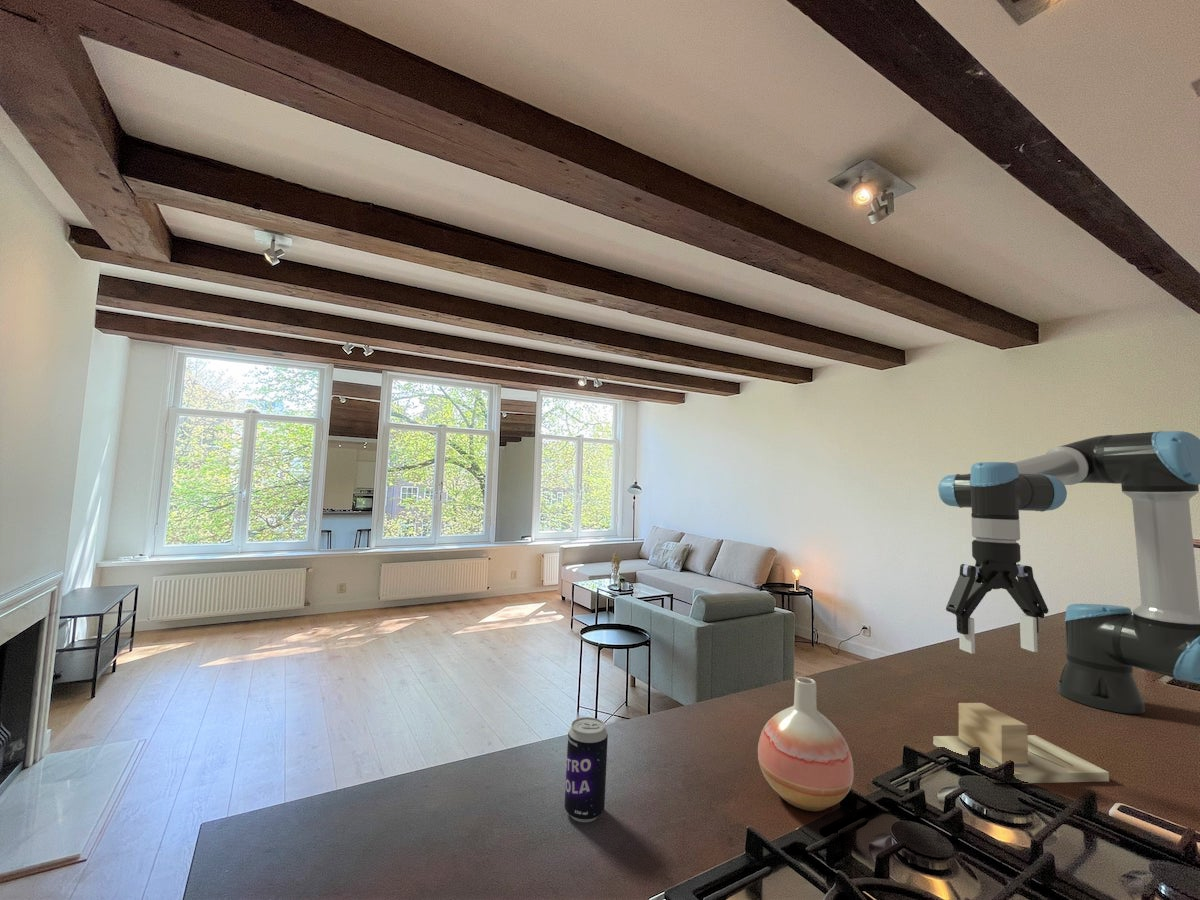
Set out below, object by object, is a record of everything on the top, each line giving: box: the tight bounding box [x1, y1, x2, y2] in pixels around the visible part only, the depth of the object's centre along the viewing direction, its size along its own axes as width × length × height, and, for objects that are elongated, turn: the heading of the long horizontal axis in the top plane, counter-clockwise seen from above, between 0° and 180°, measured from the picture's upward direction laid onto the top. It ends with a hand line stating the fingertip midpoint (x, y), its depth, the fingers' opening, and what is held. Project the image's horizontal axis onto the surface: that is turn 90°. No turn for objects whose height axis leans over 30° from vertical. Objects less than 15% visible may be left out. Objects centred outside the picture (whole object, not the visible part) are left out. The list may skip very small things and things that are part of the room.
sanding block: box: [958, 702, 1029, 767], centre depth 92 cm, size 9×5×7 cm, turn 7°
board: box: [932, 734, 1110, 784], centre depth 92 cm, size 22×13×2 cm, turn 97°
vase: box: [757, 676, 855, 812], centre depth 78 cm, size 14×14×18 cm
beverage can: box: [563, 717, 609, 823], centre depth 72 cm, size 6×6×12 cm
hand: (998, 650), depth 98 cm, fingers open, 13 cm apart
